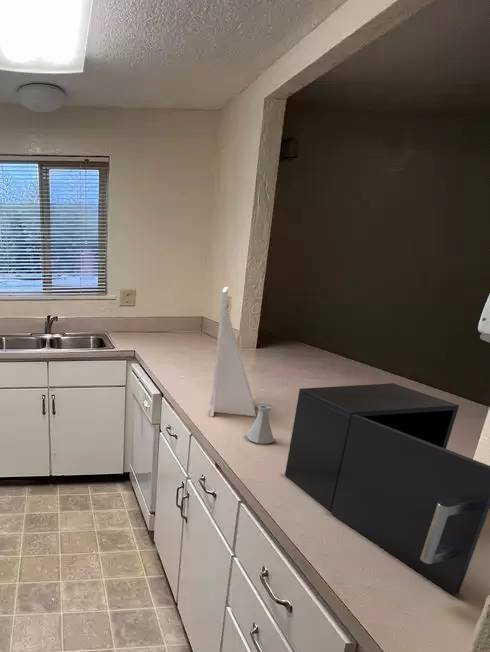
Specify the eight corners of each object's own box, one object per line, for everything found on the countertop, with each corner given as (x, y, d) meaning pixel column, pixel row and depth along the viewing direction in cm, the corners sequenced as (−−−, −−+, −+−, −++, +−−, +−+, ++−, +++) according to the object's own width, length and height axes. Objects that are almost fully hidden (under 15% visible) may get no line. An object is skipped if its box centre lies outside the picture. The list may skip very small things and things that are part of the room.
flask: (256, 445, 121) (261, 412, 118) (241, 435, 128) (245, 403, 124) (278, 443, 123) (284, 410, 119) (263, 433, 129) (267, 401, 126)
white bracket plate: (256, 421, 139) (273, 292, 125) (210, 416, 143) (222, 291, 130) (254, 402, 157) (270, 287, 143) (213, 398, 161) (224, 287, 147)
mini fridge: (430, 501, 94) (459, 405, 86) (329, 511, 90) (351, 412, 82) (372, 467, 108) (393, 383, 101) (284, 475, 105) (299, 388, 97)
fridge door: (428, 603, 66) (471, 477, 59) (309, 517, 88) (329, 417, 80) (458, 594, 68) (503, 470, 60) (334, 512, 89) (356, 414, 82)
